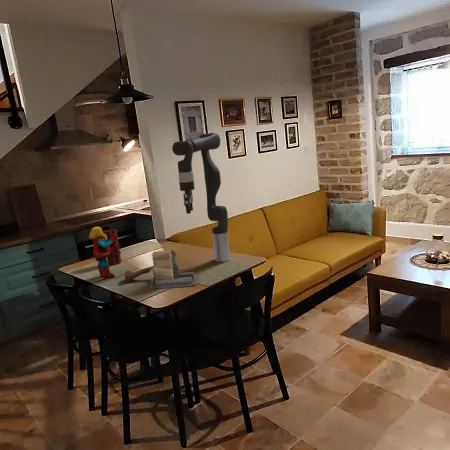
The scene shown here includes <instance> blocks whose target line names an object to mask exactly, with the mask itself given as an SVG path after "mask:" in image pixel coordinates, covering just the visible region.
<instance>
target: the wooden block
mask: <svg viewBox="0 0 450 450" xmlns="http://www.w3.org/2000/svg"><path fill="white" fill-rule="evenodd" d="M151 256H152V264H153V265H152V266H154V273H155V280H156V279H170V278H174V274H173V266H172V258H171V251H170V250H162V251H153V252H152V253H151Z"/></svg>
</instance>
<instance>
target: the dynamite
mask: <svg viewBox="0 0 450 450" xmlns="http://www.w3.org/2000/svg"><path fill="white" fill-rule="evenodd" d="M106 219H107V221H109V218H106ZM107 223H108V226H110V224H109V222H107ZM117 230H118V229H117V228H113V229H112V228H111V229H110V228H108V229H105V230H102V232H103V233H104V234H106V235H107V240H108V239H109V237H110V236H111V235H113V234H116V236H117V240H116V241H115V242H114V243H116V244H117V246H116V247H112V246H109V247H110V249H111V252H110V253H109V255H108V256H107V258H106V259H107V262H108V266H117V265H119V264H121V263H122V258H121V254H122V253H121V251H120V250H121V249H120V245H119V235H118V231H117Z"/></svg>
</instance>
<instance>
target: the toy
mask: <svg viewBox="0 0 450 450" xmlns="http://www.w3.org/2000/svg"><path fill="white" fill-rule="evenodd" d="M88 238H89V239H91V241H92V243H93V247H92V248H93V249H92V251H93V255H94V259H95V261H96V262H98V263H97V270H98V272H99V275H100V278H102V281H103V280H104V281H107V280H110V279H113V278H116V276H115V274H114V273H112V272H111V270H110V266H109V265H108V261H107V256H108V255H109V253H110V252H111V249H110V247H109V246H112V247H116V246H117V244H116V243H114V242H115V241H116V240H117V236H116V234H113V235H111V236H110V237H109V239H108V240H107V235H106V234H104V233H103V229H102V227H100V226H94V227H92V228H91V230H90V233H89V236H88Z"/></svg>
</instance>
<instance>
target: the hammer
mask: <svg viewBox="0 0 450 450" xmlns="http://www.w3.org/2000/svg"><path fill="white" fill-rule="evenodd" d="M169 251H171V258H172V266H173V274H175V273H180V272H179V271H180V269H181V268H180V266H179V265H178V264H177V262H176V258H177V253H176V252H175V250H173V249H170V250H169ZM152 268H154V265H151V266H148V267H145V268H141V269H138V270H136V271H131V270H126V271H125V272H124V280H125V282H126V283H129V282H131V281H132V280H134V279H136V278H138V277H140V276H141V275H145V274H148V273H149V274H150V270H151V269H152Z"/></svg>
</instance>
